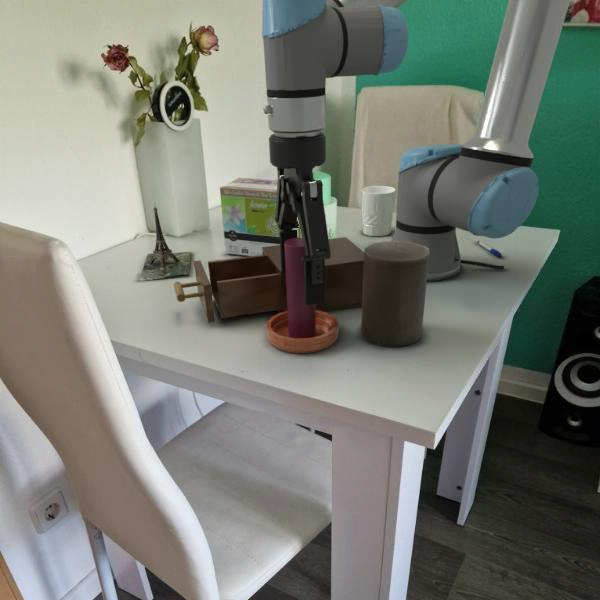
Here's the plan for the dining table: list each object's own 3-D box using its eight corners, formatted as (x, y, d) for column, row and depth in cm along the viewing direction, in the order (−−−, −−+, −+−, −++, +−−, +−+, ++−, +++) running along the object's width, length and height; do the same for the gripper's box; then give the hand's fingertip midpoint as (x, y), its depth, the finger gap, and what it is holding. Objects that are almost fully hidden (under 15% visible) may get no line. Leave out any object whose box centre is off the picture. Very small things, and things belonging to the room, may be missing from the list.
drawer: (182, 326, 92) (176, 288, 89) (175, 299, 102) (169, 264, 98) (296, 310, 97) (295, 273, 93) (278, 285, 106) (277, 250, 103)
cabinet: (282, 318, 96) (280, 271, 91) (264, 290, 107) (261, 247, 102) (371, 305, 100) (373, 259, 95) (345, 279, 110) (345, 236, 106)
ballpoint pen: (502, 257, 118) (503, 253, 117) (499, 258, 118) (499, 253, 117) (479, 243, 126) (479, 238, 126) (475, 243, 126) (476, 239, 126)
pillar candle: (380, 352, 85) (386, 256, 76) (350, 327, 92) (352, 237, 84) (434, 339, 88) (445, 245, 80) (400, 316, 95) (407, 228, 87)
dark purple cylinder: (311, 326, 91) (309, 235, 83) (319, 338, 88) (318, 244, 80) (285, 330, 90) (281, 239, 82) (292, 342, 87) (288, 248, 79)
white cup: (395, 236, 132) (397, 193, 127) (361, 237, 132) (363, 194, 127) (390, 227, 139) (393, 185, 133) (359, 228, 139) (360, 186, 133)
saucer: (325, 318, 95) (325, 304, 94) (348, 348, 86) (348, 333, 85) (260, 328, 93) (259, 314, 92) (277, 359, 84) (276, 345, 82)
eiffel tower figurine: (189, 277, 114) (180, 210, 106) (139, 280, 113) (126, 213, 105) (191, 253, 126) (183, 192, 119) (146, 256, 125) (134, 195, 118)
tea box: (224, 255, 124) (217, 186, 116) (243, 242, 132) (238, 176, 124) (287, 261, 120) (284, 190, 112) (303, 247, 128) (301, 179, 119)
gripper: (249, 123, 82) (259, 263, 94) (295, 149, 62) (300, 323, 74) (298, 119, 84) (302, 257, 96) (358, 144, 64) (353, 314, 76)
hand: (301, 286), depth 85 cm, fingers open, 13 cm apart
